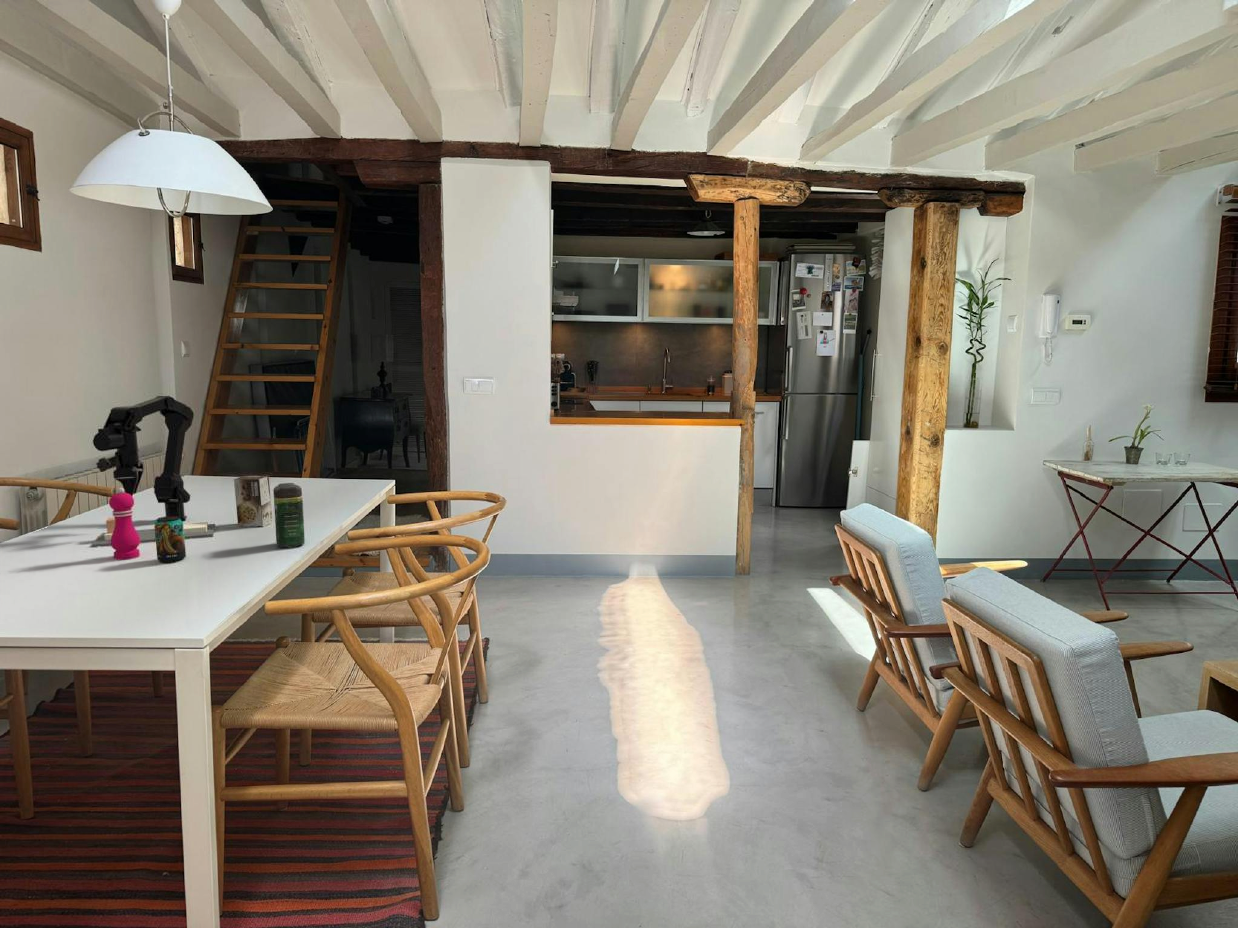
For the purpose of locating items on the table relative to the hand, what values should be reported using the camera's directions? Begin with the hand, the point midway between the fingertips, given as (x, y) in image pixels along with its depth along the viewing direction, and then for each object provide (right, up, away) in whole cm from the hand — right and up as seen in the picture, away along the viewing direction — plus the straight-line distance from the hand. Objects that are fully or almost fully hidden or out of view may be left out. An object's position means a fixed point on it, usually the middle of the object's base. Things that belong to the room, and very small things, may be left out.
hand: (131, 495), depth 255 cm
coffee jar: (+56, -14, -14) cm, 59 cm away
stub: (0, -13, -7) cm, 15 cm away
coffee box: (+33, -10, +13) cm, 37 cm away
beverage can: (+30, -17, -31) cm, 46 cm away
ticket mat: (+10, -13, -3) cm, 16 cm away
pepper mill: (+15, -16, -27) cm, 35 cm away
